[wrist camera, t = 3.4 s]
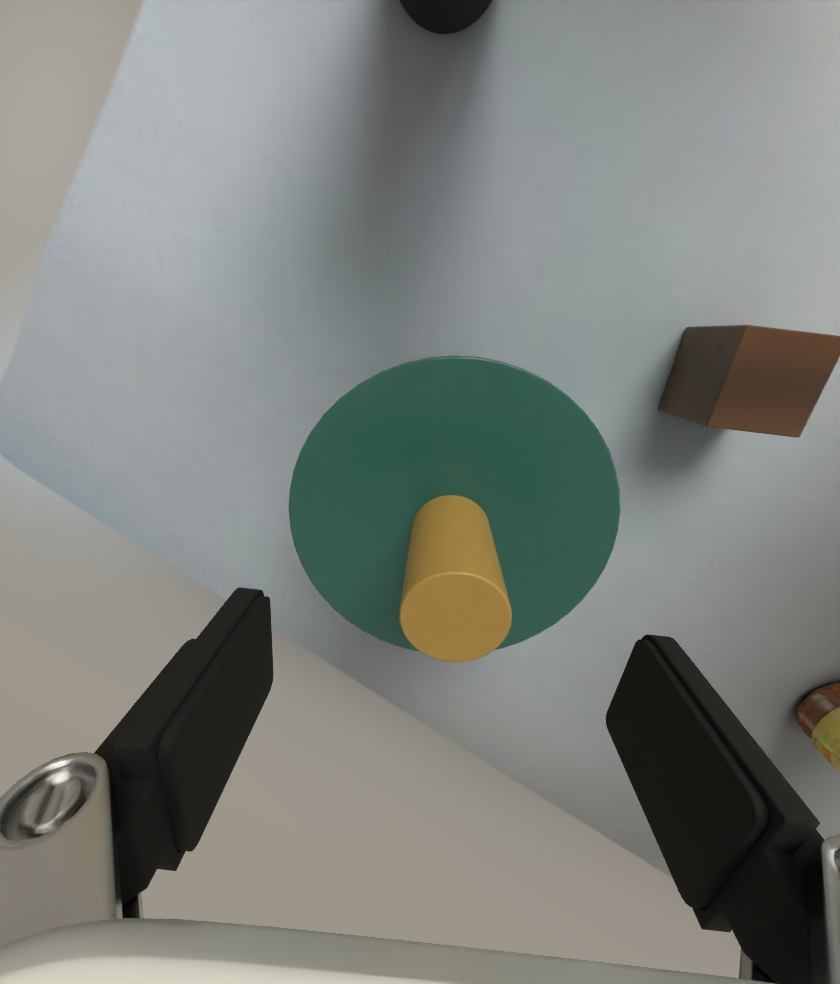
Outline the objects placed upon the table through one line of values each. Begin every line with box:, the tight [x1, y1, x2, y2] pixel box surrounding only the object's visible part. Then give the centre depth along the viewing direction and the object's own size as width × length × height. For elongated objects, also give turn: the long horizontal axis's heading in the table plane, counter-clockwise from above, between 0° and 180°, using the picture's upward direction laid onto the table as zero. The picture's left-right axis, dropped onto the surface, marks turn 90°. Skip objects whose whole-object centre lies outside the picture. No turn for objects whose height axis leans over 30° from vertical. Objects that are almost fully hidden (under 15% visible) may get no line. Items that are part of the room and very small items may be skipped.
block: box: [658, 325, 840, 437], centre depth 20 cm, size 4×4×4 cm
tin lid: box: [289, 356, 620, 662], centre depth 14 cm, size 14×14×7 cm
